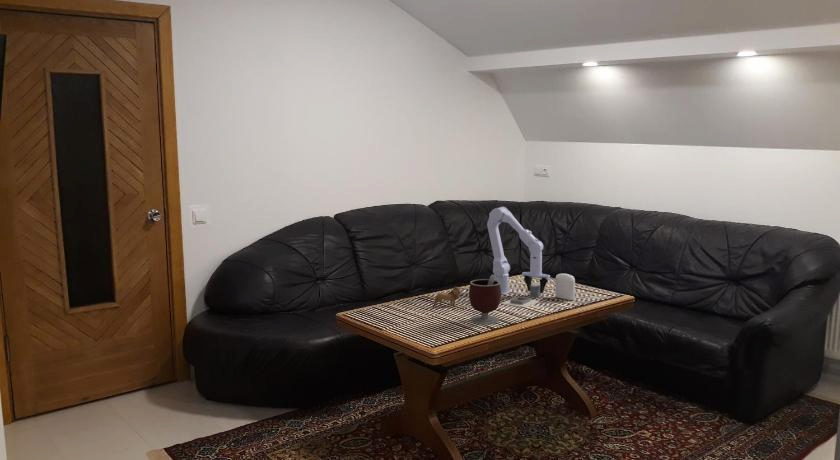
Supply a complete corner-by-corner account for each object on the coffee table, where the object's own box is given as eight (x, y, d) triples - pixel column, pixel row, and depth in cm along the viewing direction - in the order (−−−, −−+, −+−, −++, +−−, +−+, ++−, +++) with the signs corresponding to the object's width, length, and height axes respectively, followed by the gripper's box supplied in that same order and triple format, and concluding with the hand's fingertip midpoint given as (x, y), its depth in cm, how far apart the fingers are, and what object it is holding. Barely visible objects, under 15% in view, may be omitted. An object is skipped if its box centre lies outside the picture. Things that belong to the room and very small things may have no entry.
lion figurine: (458, 303, 312) (458, 285, 311) (463, 306, 307) (462, 287, 306) (430, 306, 307) (430, 288, 305) (434, 309, 302) (434, 290, 301)
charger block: (530, 296, 323) (530, 285, 322) (534, 294, 327) (535, 283, 326) (536, 297, 321) (536, 285, 320) (541, 295, 325) (541, 284, 324)
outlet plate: (501, 303, 310) (501, 300, 310) (515, 297, 321) (515, 294, 321) (525, 307, 302) (525, 303, 302) (539, 301, 313) (539, 297, 313)
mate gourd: (488, 327, 272) (488, 280, 270) (462, 321, 282) (462, 276, 279) (509, 319, 284) (509, 274, 281) (484, 313, 293) (484, 270, 290)
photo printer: (553, 297, 322) (554, 272, 320) (559, 295, 324) (559, 271, 322) (570, 301, 314) (571, 276, 312) (576, 299, 316) (576, 274, 315)
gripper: (552, 265, 321) (552, 292, 323) (526, 262, 329) (526, 288, 331) (546, 267, 315) (546, 294, 317) (520, 264, 324) (520, 291, 326)
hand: (535, 291), depth 324 cm, fingers open, 6 cm apart
